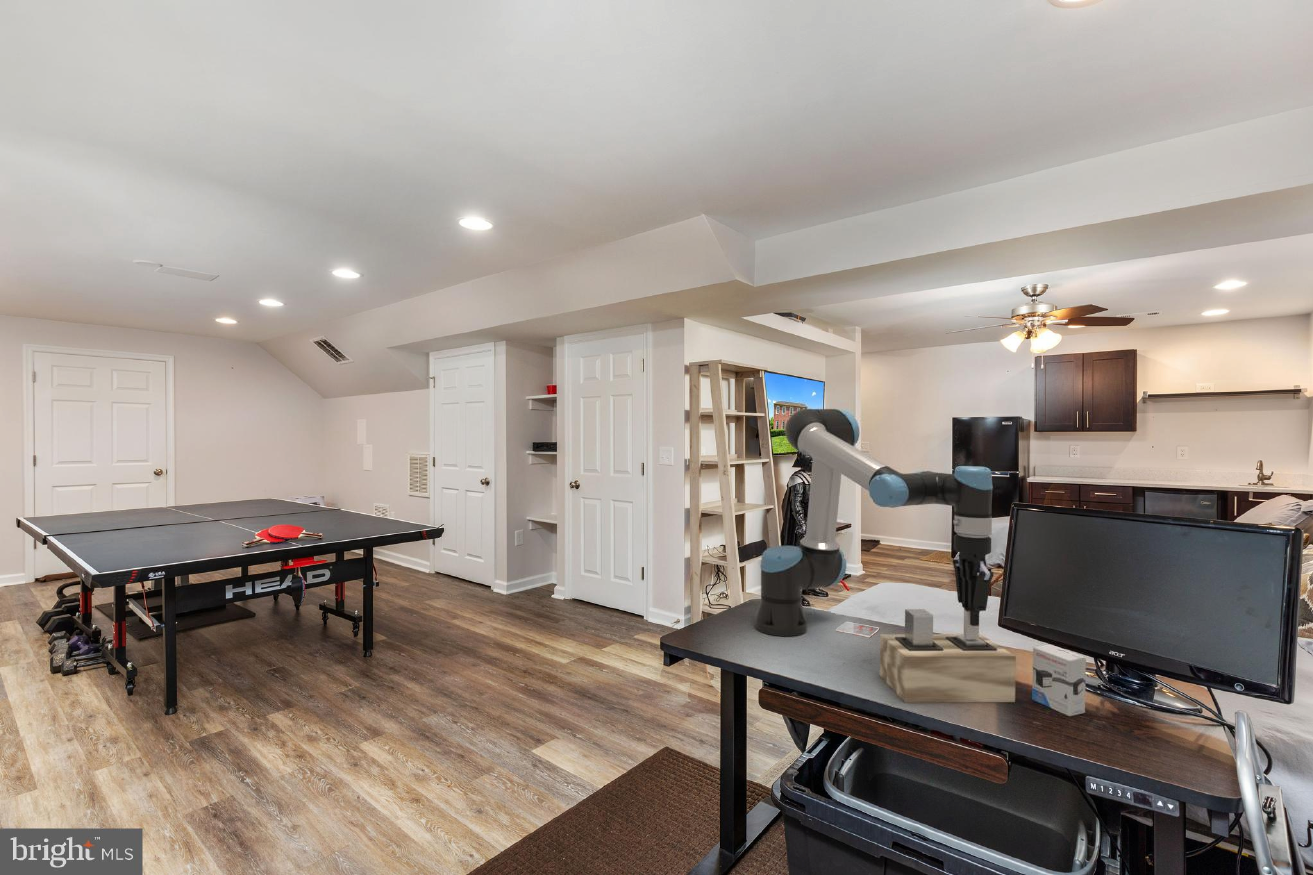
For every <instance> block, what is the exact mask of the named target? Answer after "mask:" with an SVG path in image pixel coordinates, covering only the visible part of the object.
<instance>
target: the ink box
mask: <svg viewBox="0 0 1313 875" xmlns="http://www.w3.org/2000/svg"><path fill="white" fill-rule="evenodd" d="M1086 668H1087V658H1086V657H1084V656H1083V655H1080V654H1077V653H1075V652H1073V651H1069V650H1066V649H1063V648H1061V647H1058V646H1055V645H1053V644H1043V645H1040V646H1039V645H1037V646H1034V647H1032V685H1031V686H1032V687H1031V688H1032V692H1031V694H1032V695H1031V699H1032V701H1034V702H1037V703H1039V704H1041V705H1043V706H1045V707H1047V708H1049V709H1052V710H1054V711H1057V712H1058V713H1061V714H1063V715H1066V716H1068V717H1072V716H1077V715H1081V714H1085V713H1086V678H1087V677H1086V671H1087V669H1086Z"/></svg>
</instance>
